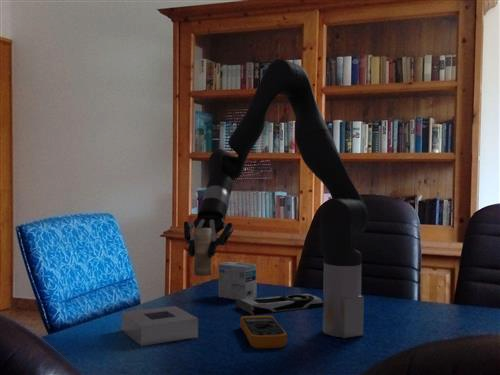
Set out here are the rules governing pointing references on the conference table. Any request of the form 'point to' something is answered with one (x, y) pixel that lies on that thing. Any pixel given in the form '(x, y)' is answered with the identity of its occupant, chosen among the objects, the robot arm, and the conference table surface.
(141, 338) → the grey square socket block
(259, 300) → the graphics card
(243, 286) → the light bulb box
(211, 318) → the conference table surface
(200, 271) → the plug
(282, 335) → the multimeter
